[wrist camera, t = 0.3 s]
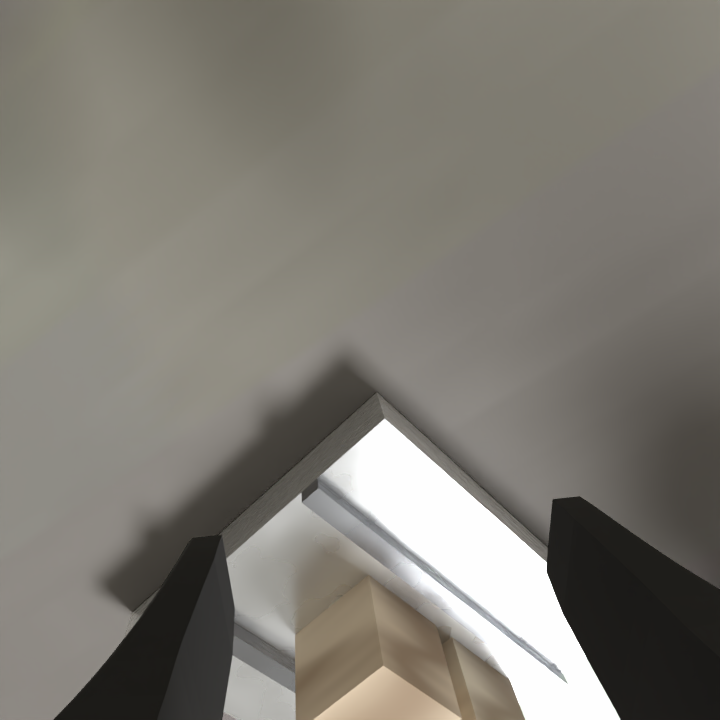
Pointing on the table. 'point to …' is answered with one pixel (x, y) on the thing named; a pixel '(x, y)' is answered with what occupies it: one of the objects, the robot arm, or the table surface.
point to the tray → (572, 699)
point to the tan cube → (372, 662)
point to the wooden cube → (479, 686)
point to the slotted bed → (386, 562)
